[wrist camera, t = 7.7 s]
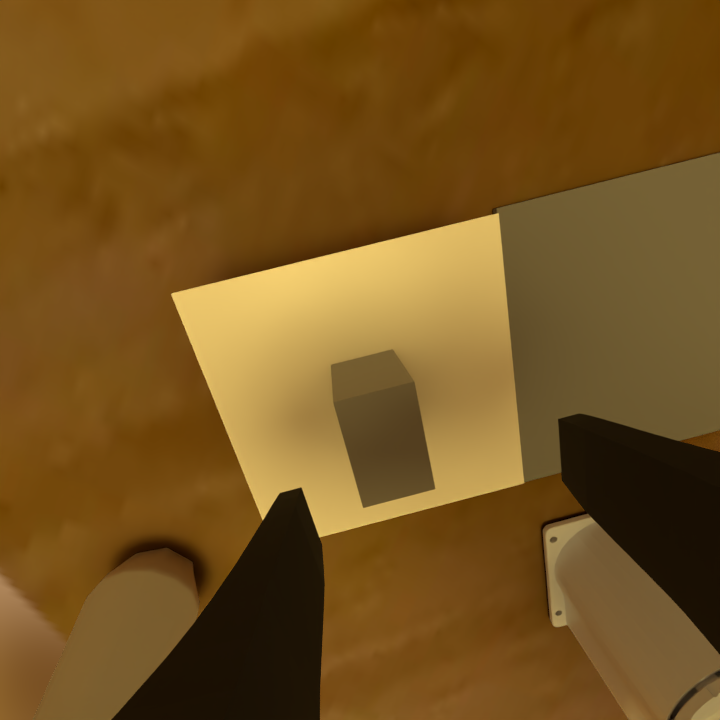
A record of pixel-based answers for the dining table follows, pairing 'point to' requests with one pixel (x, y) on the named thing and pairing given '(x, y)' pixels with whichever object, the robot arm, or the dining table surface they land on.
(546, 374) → the mat
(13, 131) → the dining table surface
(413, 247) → the lid
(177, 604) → the salt shaker
